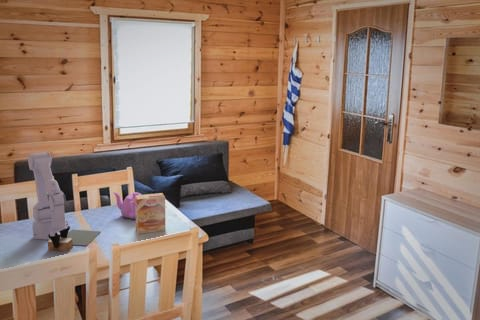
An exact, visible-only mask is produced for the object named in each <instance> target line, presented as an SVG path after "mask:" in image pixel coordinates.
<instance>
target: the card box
mask: <svg viewBox="0 0 480 320" xmlns="http://www.w3.org/2000/svg"><path fill="white" fill-rule="evenodd" d="M73 247H74V245H73V241H72V238H61V237H60V243H59V248H54V246H53V243H52V241H51V239H50V240H48V241H47V248H48V249H47V251H48V252H65V253H66V252H67V253H69V252H70V251H71V250H72V249H73Z"/></svg>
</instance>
